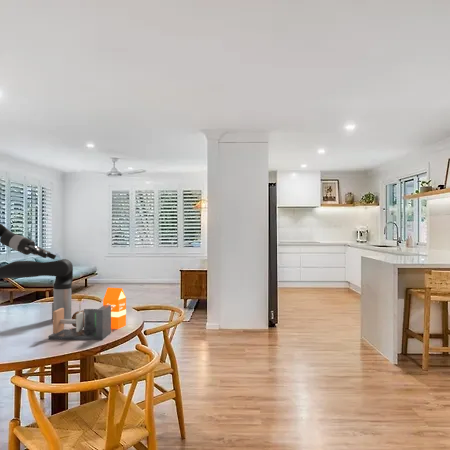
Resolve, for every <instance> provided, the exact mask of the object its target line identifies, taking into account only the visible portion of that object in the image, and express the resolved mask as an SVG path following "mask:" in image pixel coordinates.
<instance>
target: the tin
mask: <svg viewBox="0 0 450 450" xmlns="http://www.w3.org/2000/svg"><path fill="white" fill-rule="evenodd" d="M81 312H83V328H84V309H82V310H81ZM78 313H79V310H78V311H76V312H74V313H73V315H71V319H76V314H78ZM71 325H72V326H73V327H74V328H76V324H71Z"/></svg>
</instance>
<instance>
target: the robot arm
mask: <svg viewBox="0 0 450 450" xmlns="http://www.w3.org/2000/svg"><path fill="white" fill-rule="evenodd" d="M0 244H2V245H3V246H6V247H8V248H11V249H12V250H13V251H16V252H19V253H20V254H24V255H25V256H26V255H27V256H28V255H30V254H32V255H34V256H40V257H41V258H44V259H46V258H49V259H51V260H53V261H44V262H42V261H41V262H40V261H35V260H16V261H12V262H9V263H8V264H5V265H3V266H0V280H1V279H13V278H14V279H18V278H19V279H21V278H23V279H24V278H36V277H42V276H43V277H45V276H46V277H47V276H48V277H55V279H54V280H55V281H54V283H53V302H51V320H52V321H53V311H55V310H58V309H60V308H64V319H72V285H73V279H74V276H73V275H74V268H73V263H72V262H71V260H69V259H66V258H62V259H57V260H55V259H56V257H57V255H56V254H53V253H51V252H50V251H49V250H47V249H44V248H42V247H41V246H37V245H36V242H35V241H34V240H32V239H29V238H27V237H25V236H22V235H20V234H17V233H14V232H13V231H10V229H8V228H7V227H6V226H4V225H3V224H2V223H0Z"/></svg>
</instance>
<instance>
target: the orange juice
mask: <svg viewBox="0 0 450 450" xmlns="http://www.w3.org/2000/svg"><path fill="white" fill-rule="evenodd" d="M102 302H103V303H102V306H104V305H111V330H120V329H122V328H124V327H125V326H127V297H126V295H125V292H124V289H123V288H122V287H121V288H119V287H106V291H105V294H104V296H103V299H102Z"/></svg>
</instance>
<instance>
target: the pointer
mask: <svg viewBox="0 0 450 450" xmlns="http://www.w3.org/2000/svg"><path fill="white" fill-rule="evenodd" d="M81 304H82V303H81V302H78V311H79V313H78V314H76V327H75V330H76V332H79V331H81V330H84V327H83V312H81V311H82V310H81V308H82V307H81V306H82V305H81Z"/></svg>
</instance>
